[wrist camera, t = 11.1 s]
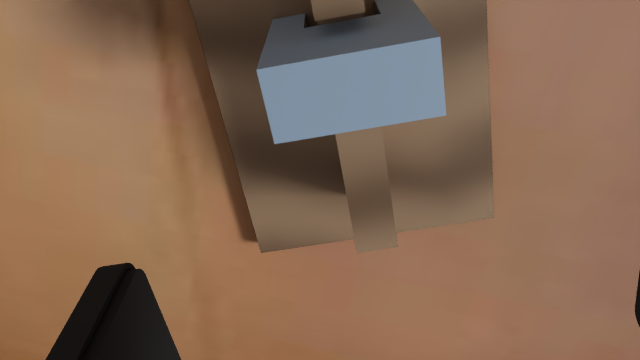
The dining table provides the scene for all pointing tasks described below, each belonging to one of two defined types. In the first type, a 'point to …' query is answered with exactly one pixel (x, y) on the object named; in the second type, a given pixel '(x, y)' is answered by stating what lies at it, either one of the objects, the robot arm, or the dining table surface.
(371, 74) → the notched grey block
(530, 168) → the dining table surface
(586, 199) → the dining table surface
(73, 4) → the dining table surface
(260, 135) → the walnut stand
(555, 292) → the dining table surface
